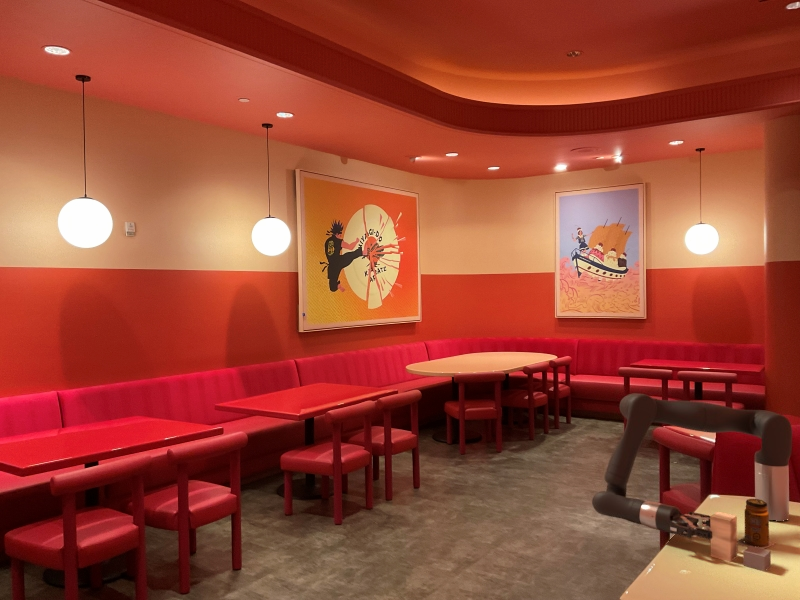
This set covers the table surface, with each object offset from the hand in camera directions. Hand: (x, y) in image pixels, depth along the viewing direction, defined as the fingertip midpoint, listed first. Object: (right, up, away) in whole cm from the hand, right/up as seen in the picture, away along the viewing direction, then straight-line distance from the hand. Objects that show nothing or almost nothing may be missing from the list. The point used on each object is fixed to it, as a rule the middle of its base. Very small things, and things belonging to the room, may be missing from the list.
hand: (718, 531), depth 173 cm
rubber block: (+7, -7, -7) cm, 12 cm away
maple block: (+1, -7, -1) cm, 7 cm away
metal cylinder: (+5, -6, +14) cm, 16 cm away
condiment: (+14, -6, +7) cm, 17 cm away
